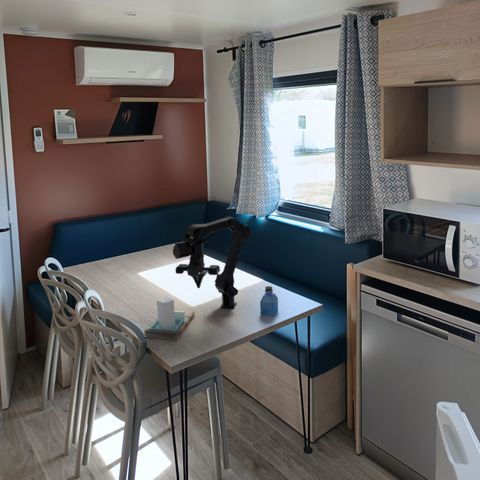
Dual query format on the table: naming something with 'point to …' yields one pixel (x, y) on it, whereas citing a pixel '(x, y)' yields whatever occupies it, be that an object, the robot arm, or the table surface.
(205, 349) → the table surface
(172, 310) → the light grey block
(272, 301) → the perfume bottle
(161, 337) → the dock
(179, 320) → the tray
